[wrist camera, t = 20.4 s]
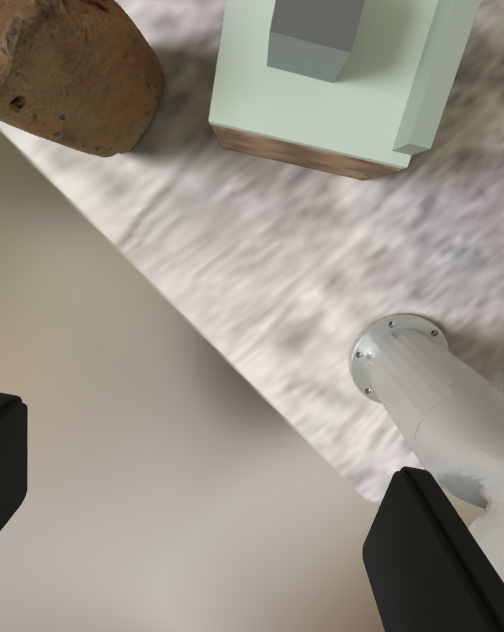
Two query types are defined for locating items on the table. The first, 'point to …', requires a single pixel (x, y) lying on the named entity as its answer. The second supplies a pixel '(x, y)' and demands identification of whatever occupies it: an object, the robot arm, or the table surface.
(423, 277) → the table surface
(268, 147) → the crate
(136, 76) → the block
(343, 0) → the cube
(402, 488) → the robot arm
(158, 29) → the table surface
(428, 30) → the lid
